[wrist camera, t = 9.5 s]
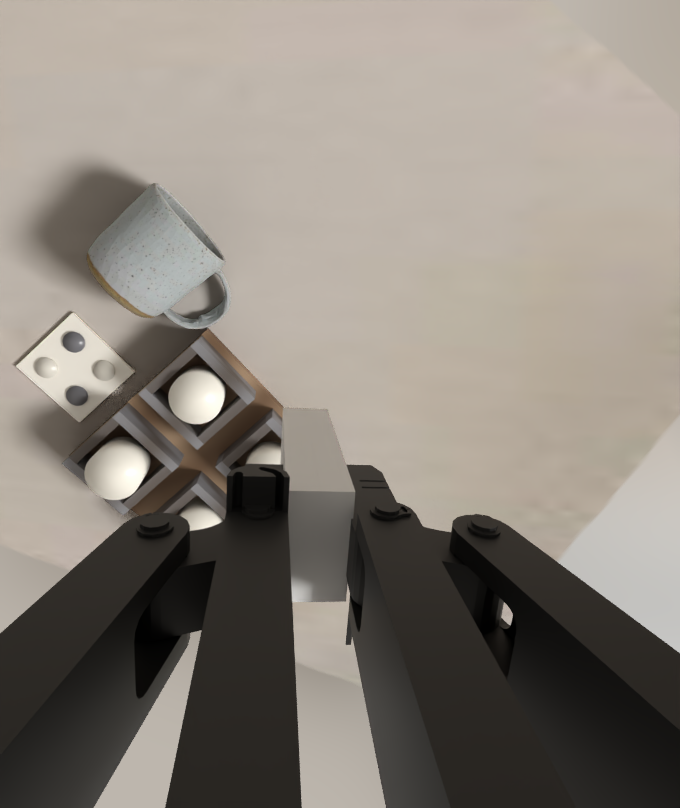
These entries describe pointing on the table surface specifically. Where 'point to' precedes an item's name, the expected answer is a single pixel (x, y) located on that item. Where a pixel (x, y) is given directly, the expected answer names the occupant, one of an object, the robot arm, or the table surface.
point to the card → (75, 367)
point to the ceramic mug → (157, 259)
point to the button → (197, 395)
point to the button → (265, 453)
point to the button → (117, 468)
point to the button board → (189, 434)
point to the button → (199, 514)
